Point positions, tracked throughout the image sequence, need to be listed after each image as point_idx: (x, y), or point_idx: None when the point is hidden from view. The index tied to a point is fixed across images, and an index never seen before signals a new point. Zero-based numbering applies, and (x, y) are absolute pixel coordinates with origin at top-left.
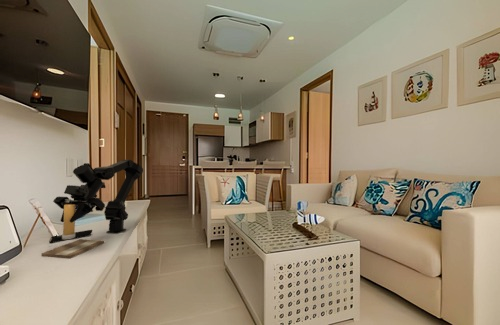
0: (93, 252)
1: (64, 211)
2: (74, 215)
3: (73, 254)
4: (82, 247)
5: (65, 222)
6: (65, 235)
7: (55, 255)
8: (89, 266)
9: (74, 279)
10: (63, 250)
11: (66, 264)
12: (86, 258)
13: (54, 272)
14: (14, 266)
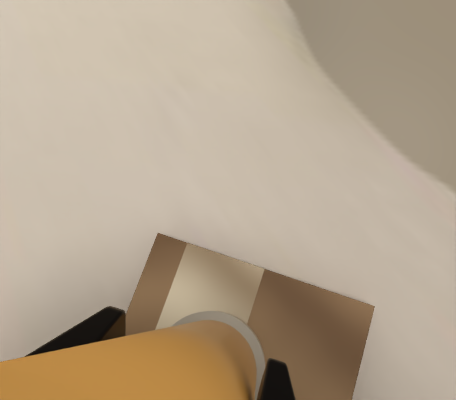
0: (61, 322)
1: (185, 366)
2: None
3: (149, 258)
4: None
5: (194, 326)
6: (211, 313)
7: (261, 268)
8: (19, 121)
9: (37, 13)
10: None
11: (140, 157)
12: (68, 225)
13: (150, 77)
14: (404, 165)
